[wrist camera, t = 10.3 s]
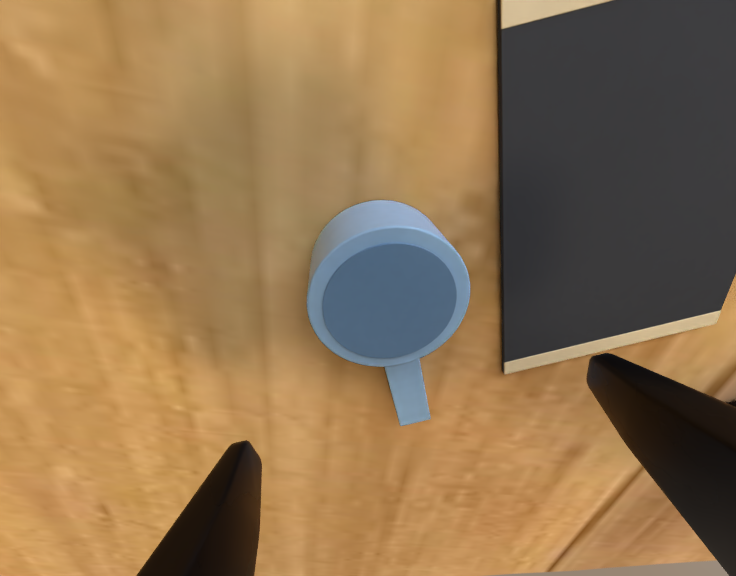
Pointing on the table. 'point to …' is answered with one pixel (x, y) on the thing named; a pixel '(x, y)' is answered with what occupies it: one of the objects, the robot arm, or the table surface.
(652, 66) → the dark gray flat panel
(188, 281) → the table surface
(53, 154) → the table surface
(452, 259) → the scoop
